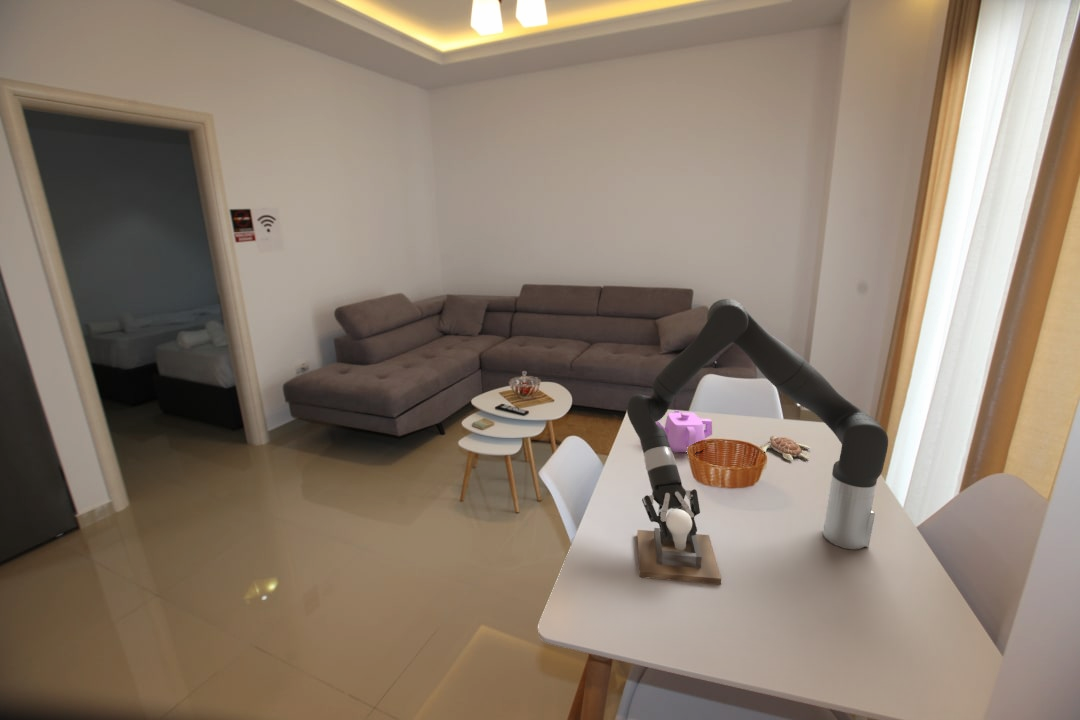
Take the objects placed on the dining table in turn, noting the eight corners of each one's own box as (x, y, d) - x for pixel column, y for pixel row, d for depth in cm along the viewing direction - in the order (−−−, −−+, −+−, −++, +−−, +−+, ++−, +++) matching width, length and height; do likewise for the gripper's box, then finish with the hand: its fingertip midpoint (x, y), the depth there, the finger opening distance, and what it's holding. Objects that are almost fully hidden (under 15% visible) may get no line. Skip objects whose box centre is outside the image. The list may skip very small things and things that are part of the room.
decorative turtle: (793, 440, 180) (794, 427, 178) (824, 460, 164) (826, 447, 163) (747, 444, 178) (748, 431, 176) (774, 465, 162) (776, 451, 160)
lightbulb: (694, 558, 114) (692, 520, 110) (668, 558, 115) (665, 520, 112) (692, 540, 119) (690, 503, 116) (666, 540, 121) (664, 503, 117)
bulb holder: (708, 540, 124) (709, 524, 123) (721, 584, 109) (722, 567, 108) (637, 534, 127) (637, 519, 126) (639, 577, 112) (640, 560, 110)
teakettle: (693, 459, 166) (695, 426, 163) (650, 445, 178) (652, 414, 174) (715, 443, 178) (718, 412, 174) (674, 431, 189) (676, 401, 186)
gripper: (639, 466, 118) (657, 538, 110) (693, 460, 120) (715, 530, 112) (630, 475, 124) (647, 543, 116) (682, 469, 127) (702, 535, 119)
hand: (680, 536), depth 114 cm, fingers closed on lightbulb, 6 cm apart
